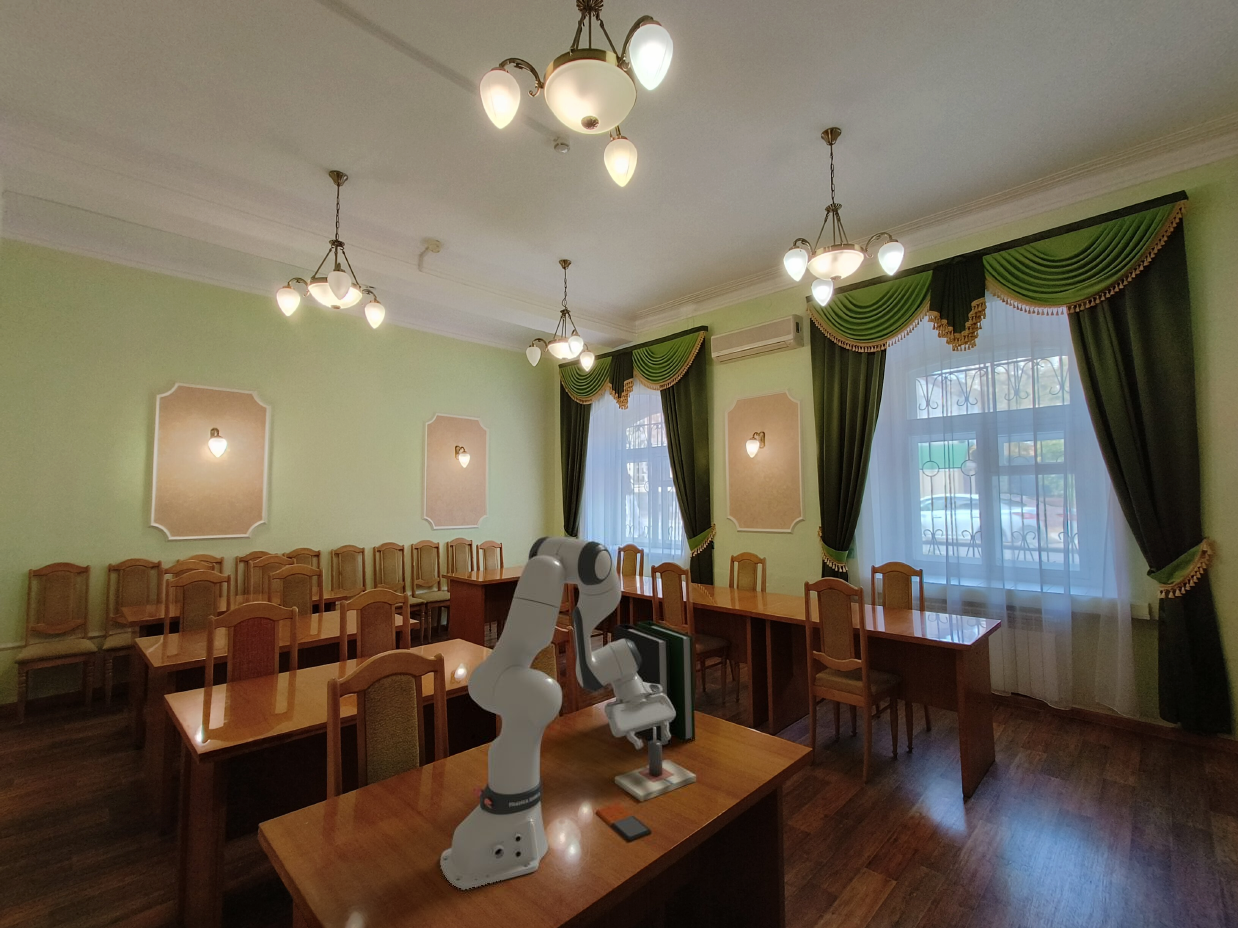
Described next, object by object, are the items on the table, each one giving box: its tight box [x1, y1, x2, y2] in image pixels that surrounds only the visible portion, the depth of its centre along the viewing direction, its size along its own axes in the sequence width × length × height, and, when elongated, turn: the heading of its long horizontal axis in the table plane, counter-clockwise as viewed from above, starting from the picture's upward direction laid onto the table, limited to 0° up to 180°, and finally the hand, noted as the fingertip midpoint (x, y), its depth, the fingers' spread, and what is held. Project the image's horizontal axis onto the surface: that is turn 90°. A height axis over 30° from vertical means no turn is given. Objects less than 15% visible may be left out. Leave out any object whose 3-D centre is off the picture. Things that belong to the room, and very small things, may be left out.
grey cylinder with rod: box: [647, 727, 663, 776], centre depth 157 cm, size 4×4×12 cm
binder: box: [614, 620, 696, 748], centre depth 191 cm, size 27×15×32 cm, turn 28°
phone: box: [595, 803, 653, 843], centre depth 136 cm, size 6×1×15 cm
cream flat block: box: [614, 758, 697, 802], centre depth 155 cm, size 18×12×2 cm, turn 124°
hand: (654, 743), depth 157 cm, fingers open, 8 cm apart
